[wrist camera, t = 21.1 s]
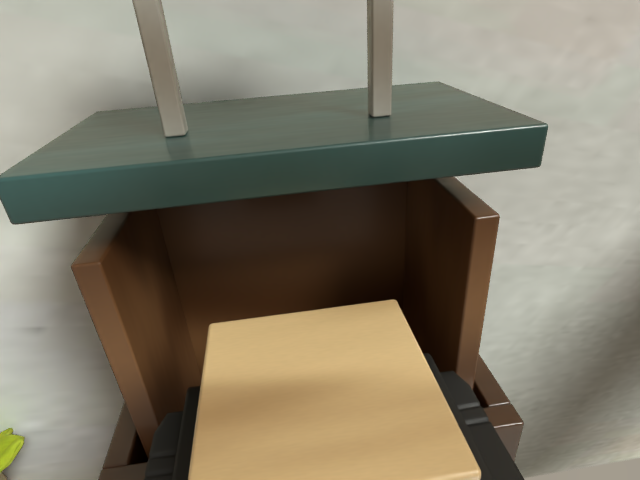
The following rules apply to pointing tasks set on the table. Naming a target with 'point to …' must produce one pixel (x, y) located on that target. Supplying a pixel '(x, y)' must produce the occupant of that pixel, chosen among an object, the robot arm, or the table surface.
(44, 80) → the table surface
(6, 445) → the bird rattle
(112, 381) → the table surface
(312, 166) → the drawer
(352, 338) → the beech block
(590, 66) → the table surface
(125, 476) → the cabinet
